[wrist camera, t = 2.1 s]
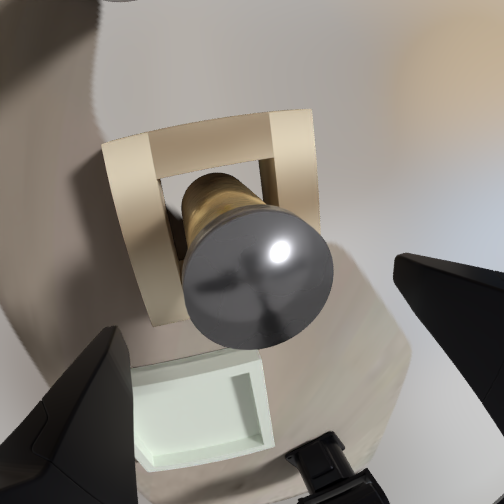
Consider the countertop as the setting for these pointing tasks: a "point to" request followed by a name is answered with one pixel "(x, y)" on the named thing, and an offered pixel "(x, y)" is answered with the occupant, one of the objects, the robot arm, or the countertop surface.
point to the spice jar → (249, 266)
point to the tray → (200, 409)
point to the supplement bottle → (119, 0)
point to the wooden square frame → (198, 158)
